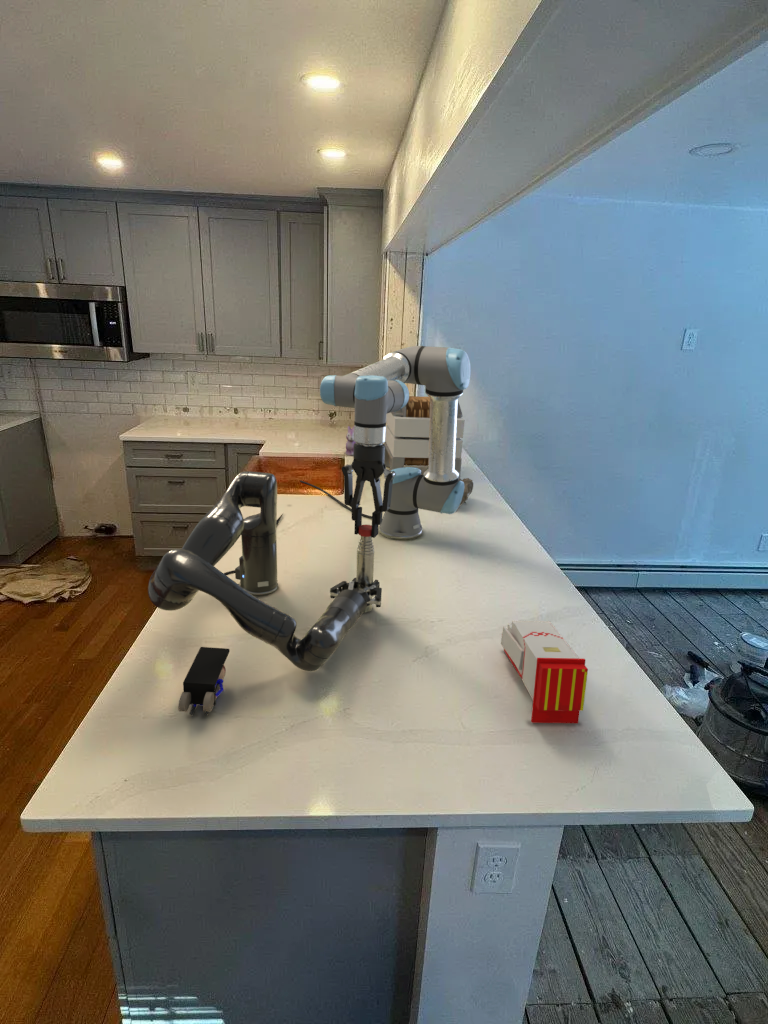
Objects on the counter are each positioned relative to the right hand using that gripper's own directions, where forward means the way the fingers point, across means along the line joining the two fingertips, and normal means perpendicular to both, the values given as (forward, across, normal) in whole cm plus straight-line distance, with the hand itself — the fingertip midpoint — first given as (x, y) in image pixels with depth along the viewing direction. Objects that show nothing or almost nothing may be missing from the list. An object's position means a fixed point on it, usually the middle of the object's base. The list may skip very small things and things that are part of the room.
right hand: (366, 534), depth 142 cm
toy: (+21, -46, +13) cm, 52 cm away
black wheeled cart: (+21, +14, +47) cm, 53 cm away
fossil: (+21, 0, -97) cm, 99 cm away
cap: (-1, 0, 0) cm, 1 cm away
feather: (+21, +54, -48) cm, 76 cm away
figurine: (+21, +71, -150) cm, 168 cm away
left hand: (+14, 0, -3) cm, 15 cm away
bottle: (+21, 0, 0) cm, 21 cm away
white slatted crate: (+21, +27, -132) cm, 137 cm away
